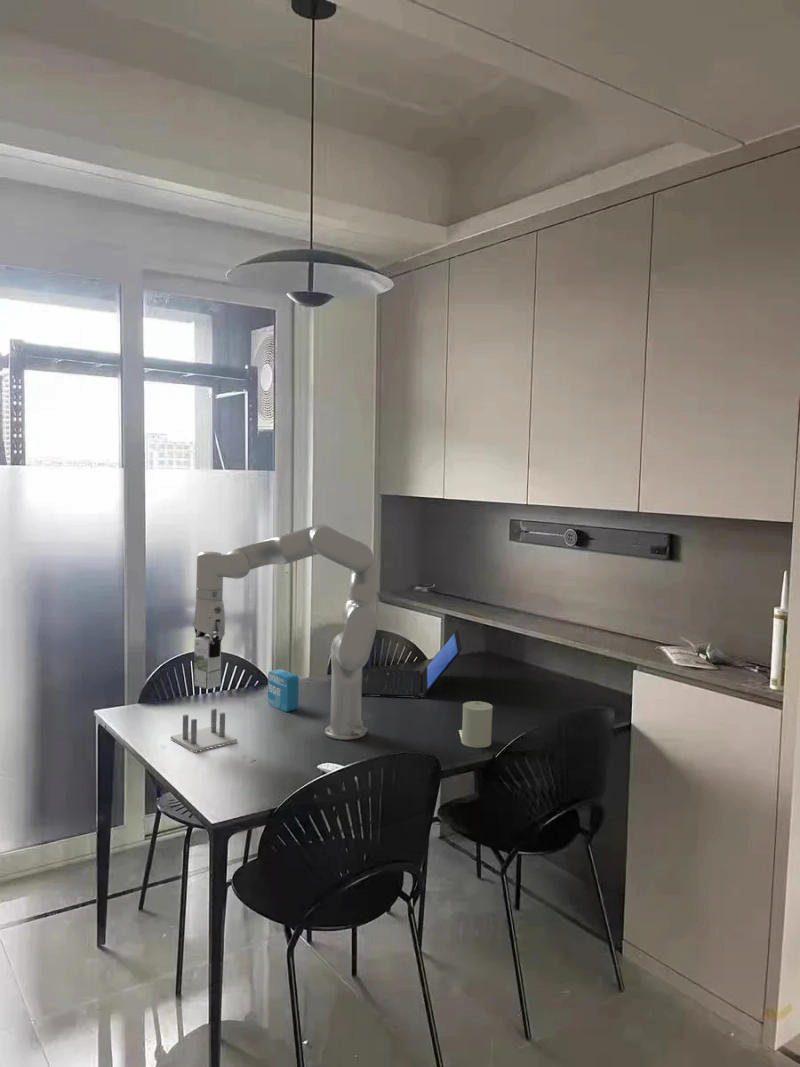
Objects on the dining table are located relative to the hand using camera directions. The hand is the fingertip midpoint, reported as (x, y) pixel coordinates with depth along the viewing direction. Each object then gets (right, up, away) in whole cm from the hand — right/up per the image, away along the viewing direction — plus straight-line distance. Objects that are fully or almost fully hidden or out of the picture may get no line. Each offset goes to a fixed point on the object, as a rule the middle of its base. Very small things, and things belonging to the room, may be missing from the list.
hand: (207, 653), depth 231 cm
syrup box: (0, -10, +1) cm, 10 cm away
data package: (+17, -24, +36) cm, 47 cm away
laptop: (+60, -23, +68) cm, 93 cm away
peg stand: (-2, -26, +2) cm, 26 cm away
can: (+80, -29, +9) cm, 85 cm away
